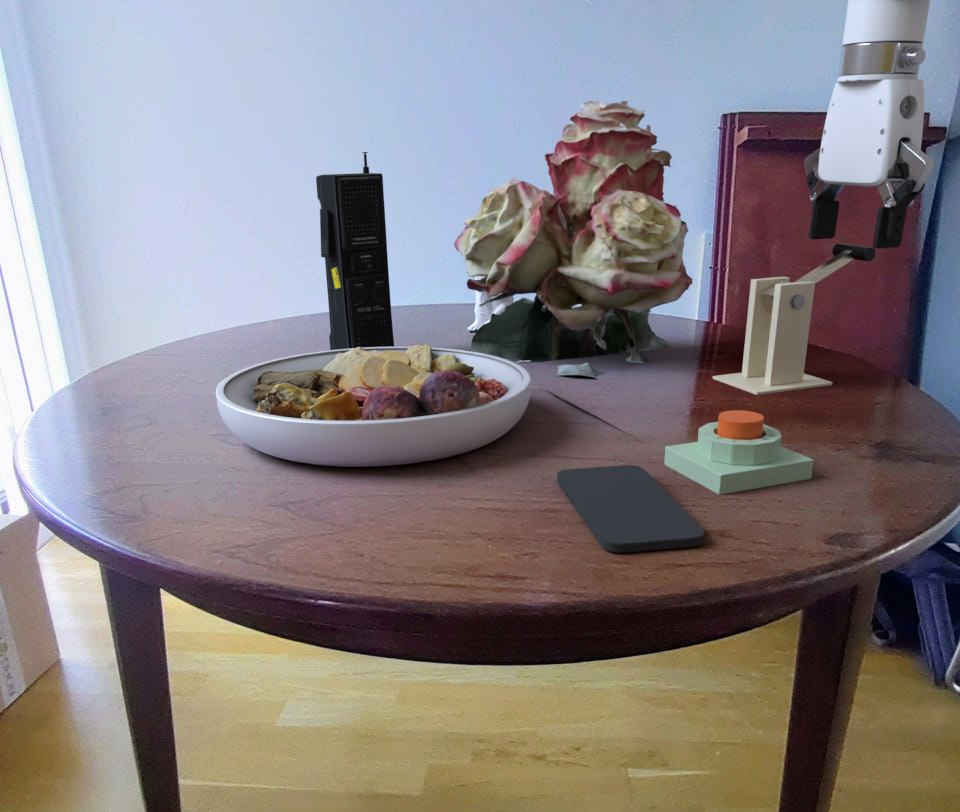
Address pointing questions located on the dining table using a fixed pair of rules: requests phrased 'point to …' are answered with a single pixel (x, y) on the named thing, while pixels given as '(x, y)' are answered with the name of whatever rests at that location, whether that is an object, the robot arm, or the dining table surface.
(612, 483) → the phone
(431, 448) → the bowl
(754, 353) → the bracket
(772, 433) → the button block
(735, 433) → the button
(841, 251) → the lever
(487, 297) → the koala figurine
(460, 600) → the dining table surface
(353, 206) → the portable radio
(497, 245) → the rose bouquet
